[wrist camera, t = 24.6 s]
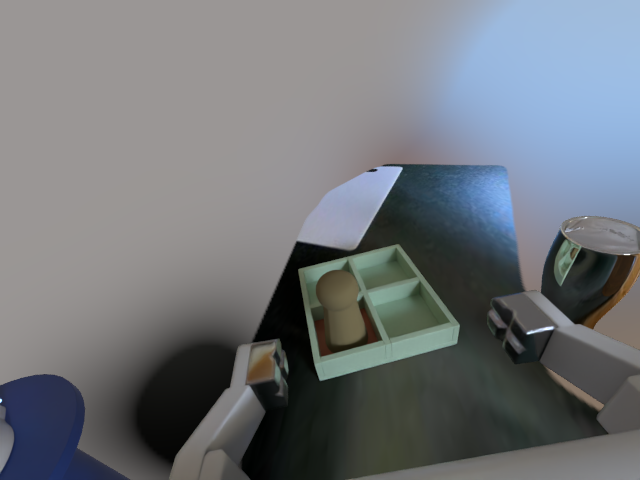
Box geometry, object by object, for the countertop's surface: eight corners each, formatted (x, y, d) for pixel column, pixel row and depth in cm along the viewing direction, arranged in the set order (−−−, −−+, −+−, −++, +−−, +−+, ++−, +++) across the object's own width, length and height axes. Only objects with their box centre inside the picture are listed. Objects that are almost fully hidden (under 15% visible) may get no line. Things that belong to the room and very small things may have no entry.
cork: (352, 312, 42) (343, 256, 36) (377, 341, 37) (371, 281, 31) (317, 332, 40) (301, 276, 34) (339, 365, 35) (325, 307, 29)
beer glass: (609, 356, 31) (683, 253, 23) (539, 355, 33) (585, 258, 24) (572, 309, 37) (620, 212, 29) (514, 309, 38) (544, 217, 30)
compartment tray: (319, 381, 35) (314, 364, 33) (302, 284, 50) (298, 269, 48) (456, 344, 36) (460, 325, 34) (399, 260, 51) (398, 243, 49)
